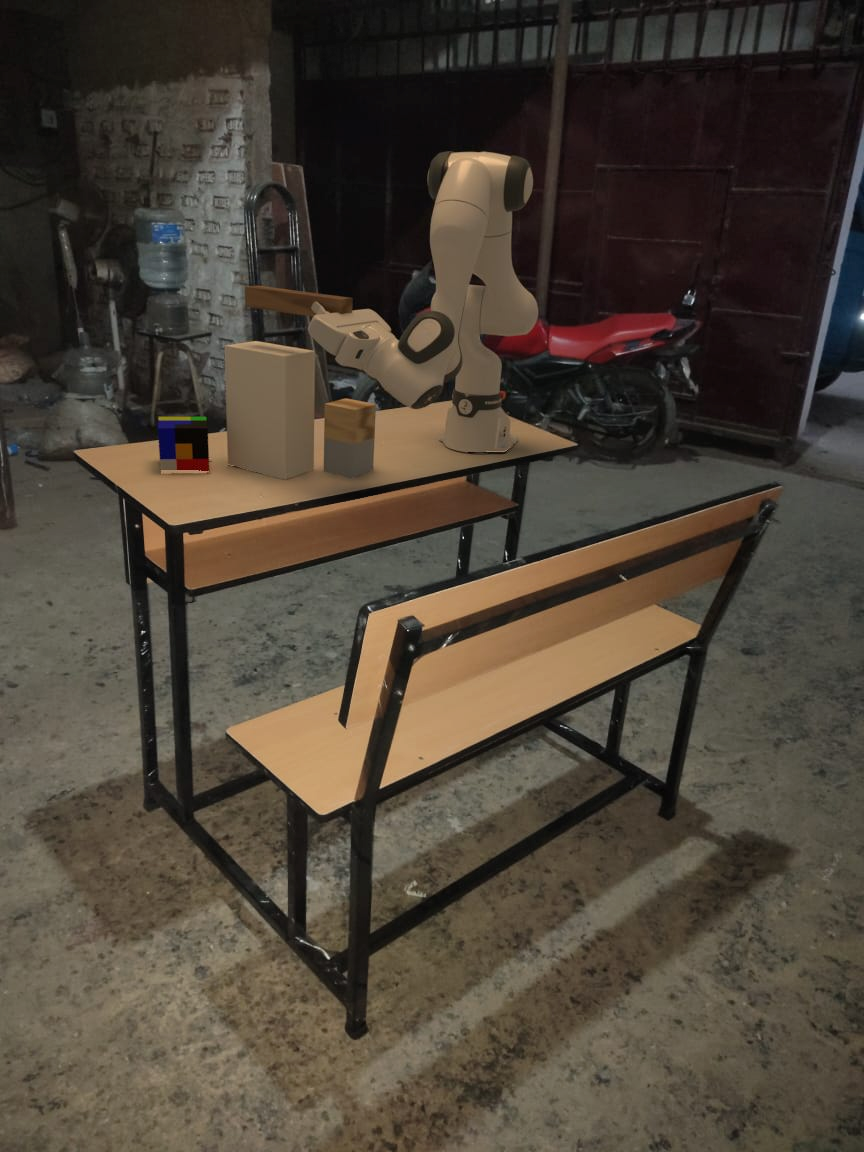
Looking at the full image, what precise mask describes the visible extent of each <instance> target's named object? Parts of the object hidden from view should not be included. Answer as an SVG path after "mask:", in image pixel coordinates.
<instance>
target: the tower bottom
mask: <svg viewBox="0 0 864 1152" xmlns="http://www.w3.org/2000/svg"><path fill="white" fill-rule="evenodd" d="M374 453H375V438H372V439H369V440H366V441H363V442H360V443H357V444H350V443H345V442H341V441H336V440H332V439H327V438H324V437H323V471H324V472H328V473H333V474H336V475H340V476H343V477H344V476H345V477H347V478H348V477H349V478H352V479H354V478H356V477H359V476H362V475H364V474H366V472H367V473H370V472H371V470H372V471H373V470H374V459H375V457H374V455H375V454H374Z"/></svg>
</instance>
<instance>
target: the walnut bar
mask: <svg viewBox="0 0 864 1152" xmlns="http://www.w3.org/2000/svg"><path fill="white" fill-rule="evenodd" d="M353 299H354V298H353V297H347V296H341V295H340V296H339V295H331V294H322V293H316V292H309V291H308V292H307V291H301V290H292V289H286V288H278V287H271V286H261V285H247V286H244V307H245V308H250V309H258V310H265V311H271V312H277V313H278V312H279V313H286V314H292V315H293V314H294V315H298V316H305V317H312V318H313V317H314V315H317V314H316V313H315V312H314V311H313V310H312V309H311V307H312V305H313V303H314V302H321V304H323V305H324V306H325V307H324V309H325V311H326V312H327V311H328V312H329V313H337V312H338V313H340V314H346V313H352V311H353Z"/></svg>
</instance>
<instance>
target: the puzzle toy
mask: <svg viewBox="0 0 864 1152" xmlns="http://www.w3.org/2000/svg"><path fill="white" fill-rule="evenodd" d="M157 418H158V420H157V421H158V422H157V434H158V435H157V437H158V453H159V467H160V468H159V469H160V471H161V470H199V471H200V470H201V471H209V472H210V454H209V453H210V452H209V431H208V429H209V427H208V422H207V421H208V420H207V416H158V417H157Z"/></svg>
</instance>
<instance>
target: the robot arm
mask: <svg viewBox="0 0 864 1152" xmlns="http://www.w3.org/2000/svg"><path fill="white" fill-rule="evenodd" d="M531 166H532V165H530V163H529V161H528V160H527V159H526V158H523V157H521V156H518V155H514V154H512V155H506V154H501V153H497V152H488V151H480V152H478V151H477V152H476V151H460V152H458V151H457V152H454V151H453V150H449V151H441V152H439V153H437V154H436V155H435V156H434V158H433V159H431V162H430V166H429V169H428V172H427V186H428V187H427V188H428V189H427V190H428V194H429V196H430V197H431V199H432V201H434V206H433V210H432V215H431V218H430V220H431V221H430V229H429V230H430V231H429V245H430V251H431V256H432V257H431V258H432V262H433V268H434V274H435V292H434V293H433V296H432V298H431V302H430V310H427V311H423V312H421V313H419V314H417V315H416V316H414V317H413V319H412V320H411V321H410V323H409V324H408V325H407V327H406V328H405V330H404V331H403V333H402V334H401V336H400V338H399V339H397V338H396V336H395V335H394V334H393V333H392V328H391V327H390V325H389V324H388V323H387V322H386V321H385V319H383V318H382V317H381V316H380V315H379V314H378V313H377V312H376V311H374V310H372V309H370V308H364V309H363V308H362V309H355V310H352V313H346V314H340V313H338V312H337V313H329V312H328V311H327V312H326V311H325V309H324V307H325V306H324V305H323V304H321V302H314V303H313V305H312V307H311V309H312V310H313V311H314V312H315V313H316V314H317V315H314V317H312V319H311V320H310V322H309V325H308V327H307V331H308V332H307V333H308V334H309V335H310V337H311V338H312V339H314V340H315V342H317V344H318V345H320V346H321V348H323V349H324V350H325V351H326V352H327V353H329V354H331V355H333V356H335V359H334V360H335V361H336V363H337V364H338V365H340V366H343V367H349V368H355V369H357V370H360V371H364V372H365V373H366V374H367V375H368V376H369V377H372V378H374V379H376V380H377V381H378V382H379V384H380V385H381V387H382V389H384V390H385V391H386V392H387V393H389V394H390V395H391V396H392V397H393V398H395V400H396V401H398V402H400V403H401V404H402V405H404V406H406V407H408V408H410V409H413V410H421V409H423V408H426V407H428V406H429V405H431V404H433V402H435V401H436V400H437V399H438V398H439V396H440V395H441V394H442V393H443V390H444V384H447V383H449V382H451V381H452V380H453V379H455V386H454V388H453V390H452V393H451V394H452V395H451V399H452V401H451V403H452V406H451V407H450V408H448V409H447V411H446V418H445V423H444V431H443V434H442V435H440V436H439V441H440V442H442V443H443V444H444V446H445V447H446V448H448V449H450V450H454V451H458V452H462V453H468V452H486V451H505V450H507V449H508V448H509V447H511V446H512V445H513V444H514V443H515V442H516V441H517V440H518V441H519V437H518V436H516V435H513V434H511V433H510V432H511V418H510V417H509V415H507V413H506V412H505V410H504V409H503V408H502V400H505V398H506V391H502V390H500V389H501V376H502V365H503V364H502V360H501V359H500V357H499V356H498V355H497V354H496V353H495V352H494V350H493V351H492V350H491V349H490V348H488V347H486V346H485V345H484V344H483V343H482V340H481V339H480V335H490V336H503V337H514V336H522V335H527V334H529V333H530V332H531V331H532V330H533V328H534V327H535V325H536V323H537V321H538V317H539V307H538V302H537V299H536V298H535V297H534V295H533V294H532V293H531V292H530V291H529V290H527V289H526V288H525V287H524V286H523V284H522V283H521V282H520V280H519V278H518V277H517V274H516V273H515V270H514V266H513V261H512V260H513V259H512V231H513V212H516V211H520V210H521V209H522V208H524V207H525V206H526V205H527V204H528V201H529V198H530V196H531V195H532V192H533V191H532V190H533V186H534V177H533V176H534V175H533V172H532V167H531ZM473 275H475V276H476V277H478V278H479V279H480V280H481V281H483V283H484V285H479V284H477V285H476V284H470V282H471V279H472V276H473ZM518 441H517V442H518ZM517 442H516V443H517ZM516 443H515V444H516ZM515 444H514V445H515ZM514 445H513V446H514ZM513 446H512V447H513ZM512 447H511V448H512Z"/></svg>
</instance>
